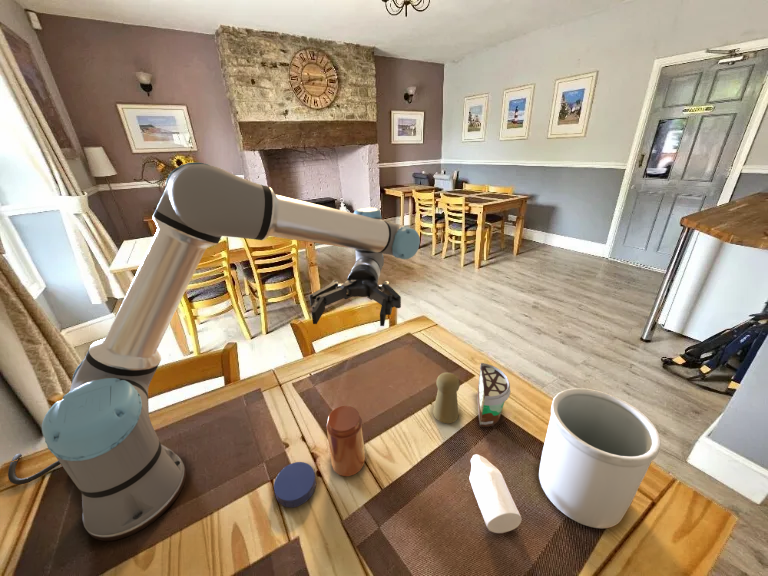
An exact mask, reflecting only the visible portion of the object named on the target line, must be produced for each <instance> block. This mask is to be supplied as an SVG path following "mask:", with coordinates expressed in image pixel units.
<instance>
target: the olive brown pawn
mask: <svg viewBox="0 0 768 576" xmlns="http://www.w3.org/2000/svg"><path fill="white" fill-rule="evenodd" d="M435 383H436V388H437V391H436V392H437V393H436V396H435V401H434V405H433V408H432V414H433V417H434V418H435V419H436V420H437V421H438V422H440V423H443V424H451V423H455V422H456V421H457V420H458V418H459V403H458V402H459V401H458V391H459V389H460V385H461V384H460V379H459V377H458V376H457V375H456V374H455V373H452V372H447V371H446V372H442V373H441V374H439V375H438V376H437V378H436V382H435Z"/></svg>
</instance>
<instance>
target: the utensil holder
mask: <svg viewBox="0 0 768 576" xmlns="http://www.w3.org/2000/svg"><path fill="white" fill-rule="evenodd" d="M661 446H662V440H661V436H660V433H659V431H658V429H657V427H656V426H655V424H654V423H653V422H652V421H651V419H649V417H648V416H647V415H646V414H644V413H643V411H640V409H638V408H637V407H635V406H634V405H632V404H631V403H629V402H628V401H626V400H624V399H622V398H620V397H618V396H616V395H613V394H610V393H609V392H608V393H607V392H605V391H601V390H597V389H591V388H582V387H581V388H578V387H577V388H569V389H565V390H562V391H560V392H558V393H557V394H556V395H555V396H554V397H553V399H552V402H551V406H550V417H549V421H548V426H547V431H546V435H545V439H544V444H543V447H542V451H541V457H540V463H539V468H538V469H539V470H538V479H539V483H540V486H541V488H542V490H543V492H544V494H545V496H546V497H547V498H548V500H549V501H550V502H551V503H552V504H553V505H554V506H555V508H556V509H557V510H559V511H560V512H561V513H562V514H563V515H565V516H566V517H568V518H569V519H570V520H573V522H574V521H575V522H576V523H578V524H580V525H583V526H587V527H589V528H594V529H609V528H612V527H614V526H615V527H616V525H618V524H619V523H620V522H621V521H622V519H623V518H624V517H625V515H626V513H627V511H628V510H629V508H630V507H631V505H632V503H633V500H634V498H635V496H636V495H637V492H638V490H639V488H640V486H641V484H642V482H643V480H644V478H645V476H646V474H647V473H648V470H649V468H650V465H651V463H652V462H653V461H654V460H655V459H657V456H658V455H659V453H660V451H661Z"/></svg>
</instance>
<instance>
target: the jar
mask: <svg viewBox="0 0 768 576" xmlns="http://www.w3.org/2000/svg"><path fill="white" fill-rule="evenodd" d="M326 432H327V433H326V434H327V439H328V440H327V441H328V447H329V455H330V461H331V467H332V470H333V471H334V472H335V473H336V474H337V475H338V476H341V477H351V476H354V475H356V474H358V473H359V472H360V471H361V470H362V468H363V467H364V466H365V462H366V457H365V454H366V453H365V441H364V428H363V419H362V417H361V415H360V412H359V411H358V409H357V408H356V407H353V406H350V405H340V406H338V407H336V408H334V409H332V411H331V412H330V413H329V414H328V417H327V423H326Z"/></svg>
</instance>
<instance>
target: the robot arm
mask: <svg viewBox="0 0 768 576" xmlns="http://www.w3.org/2000/svg"><path fill="white" fill-rule="evenodd" d="M164 185H165V186H164V191H163V193H162V194H161V195H162V196H161V198H160V199H159V201H158V204H157V206H156V208H155V210H154V212H153V215H152V220H153V222H154V223H155V225H156V232H155V234H154V235H153V238H152V240H151V242H150V244H149V246H148V249H147V250H146V252H145V255H144V256H143V258H142V260H141V262H140V265H139V267H138V269H137V271H136V273H135V276H134V277H133V279H132V282H131V284H130V286H129V288H128V290H127V292H126V294H125V296H124V297H123V300H122V303H121V305H120V307H119V308H118V311H117V313H116V314H115V317H114V319H113V321H112V323H111V325H110V328H109V330H108V332H107V334H106V336H105V337H104V338H103V339H100V340H97V341H94V342H92V344H91V345H90V346H89V348H88V351H87V352H86V354H85V356H84V359H82V360H81V362H80V363H79V365H78V366H77V367H76V368H75V370H74V373H73V375H72V379H71V386H70V389H69V391H68V392H67V393H66V394H64V395H63V396H62V399H61V400H57V401H56V402H55V403H53V404H52V406H51V407H50V408H49V409H48V411H47V412H46V413H45V414H44V418H43V420H42V423H41V433H42V437H43V438H44V442H45V444H46V446H47V449H48V450H49V451H50V453H51V454H52V455H53V456H54V457H55V458H56V459H57V460H56V461H54V462H53V463H51V464H50V465H48V466H46V467H45V468H44V469H42V470H40V471H38V472H36V473H35V474H32V475H30V476H27V477H24V478H19V477H18V476H17V474H16V468H17V465H18V462H19V460H20V459H21V457H22V456H23V455H22V453H16V454H15V455H14V456H13V457H12V459H11V461H14V460H17V459H19V460H18V461H14V462H11V461H10V464H9V466H8V471H7V478H8V480H9V482H10V483H12V484H14V485H19V486H20V485H25V484H28V483H31V482H33V481H35V480H37V479H39V478H41V477H43V476H44V475H46V474H47V473H48V472H50V471H52V470H54V469H55V468H57V467H58V466H60V465H61V467H62V468H63V470H65V472H66V474H67V475H68V476H69V478H70V479H71V481H72V482H73V483H74V485H75V486H76V487H77V489H78V490H79V492H80V493H81V500H82V501H81V505H82V514H81V515H82V516H81V519H82V524H83V527H84V528H85V530H86V531H87V533H88V534H89V535H90V537H92V538H93V539H95V540H97V541H104V542H112V541H117V540H121V539H124V538H127V537H129V536H131V535H134V534H136V533H138V532H140V531H141V530H144V529H145V528H147V527H148V526H150V525H151V524H152V523H154V522H155V521H157V520H158V519H159V518H160V517H161V516H162V515H164V514H165V513H166V512H167V511H168V509H169V508H170V507H171V506H172V505H173V504H174V502H175V501H176V500H177V499H178V497H179V495H180V494H181V492H182V490H183V488H184V485H185V483H186V479H187V469H186V467H185V464H184V462H183V460H182V459H181V457H180V456H179V455H178V454H176V453H175V452H174V451H173V450H171V449H170V448H168V447H166V446H165V445H163V444H162V443H161V441H160V438H159V437H158V434H157V432H156V430H155V428H154V426H153V424H152V421H151V418H150V408H149V387H150V384H151V382H152V380H153V378H154V376H155V373H156V372H157V369H158V367H159V366H160V363H161V361H162V356H161V354H160V353H159V351H158V348H159V346H160V344H161V342H162V340H163V338H164V336H165V334H166V331H167V330H168V328H169V326H170V324H171V322H172V320H173V317H174V316H175V313H176V311H177V309H178V307H179V305H180V303H181V301H182V299H183V297H184V295H185V293H186V291H187V288H188V287H189V284H190V282H191V280H192V279H193V277H194V274H195V272H196V270H197V268H198V266H199V264H200V262H201V260H202V258H203V256H204V254H205V252H206V250H207V249H208V248H211V247H215V246H217V245H219V242H221V241H220V240H221V238H222V237H230V238H239V239H248V240H256V241H265V240H266V239H268V238H269V237H274V238H281V239H286V240H293V241H294V240H295V241H300V242H306V243H313V244H320V245H327V246H333V247H340V248H346V249H353V250H354V251H355V263H354V264H353V267H352V268H351V270H350V272H349V273H348V276H347V280H346V281H344V282H343V283H341V282H340V283H339V281H338V280H337V279H333V280H332V281H331V282H330V283H329V284H327V285H325V286H324V287H321V288H320V289H318V290H316V291H315V292H313V293H311V294H309V296H308V297H309V304H310V307H312V311H311V313H310V314H311V319H312V324H313V325H317V324H318V323H319V321H320V319H321V317H322V315H323V314H324V312H325V310H326V306H329V305H331V304H334V303H336V302H339V301H340V300H348V299H350V298H358V297H360V298H367V299H369V300H370V301H375V302H376V303H377V304H379V305H380V311H379V325H380V327H385V324H386V323H385V322H386V317H387V316H391V315H392V313H393V308H395V309H400V308H401V307H402V297H401V295H400V294H399V293H398V292H397V291H396V290H395V289H394V288H393V287H392V286H391V285H390V281H388V280H384V281H383V283H379V279H380V276H381V273H382V270H383V266H384V261H385V260H384V258H385V257H384V255H388V256H393V257H394V258H396V259H401V260H410V259H411V258H413V257H414V256H415V255H416V254H417V253H418V251H419V248H420V245H421V237H420V235H419V233H418V231H417V230H416V229H414V228H411V227H410V226H408V225H402V224H399V223H394V222H391V221H389V220H384V219H383V218H382V212H381V210H380V209H379V208H377V207H360V208H357V209H355V210H354V212H350V211H346V210H341V209H337V208H333V207H329V206H325V205H321V204H316V203H313V202H309V201H304V200H300V199H296V198H292V197H287V196H284V195H280V194H276V193H275V191H274V190H273V188H271V187H270V186H268V185H264V184H260V183H257V182H254V181H251V180H248V179H245V178H243V177H240V176H238V175H236V174H233V173H231V172H229V171H227V170H225V169H223V168H221V167H218V166H214V165H210V164H209V163H203V162H188V163H184V164H181V165H179V166H177V167H176V168H174V169H173V170H171V172H170V173H169V174H168V176H167V178H166V180H165V184H164Z"/></svg>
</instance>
